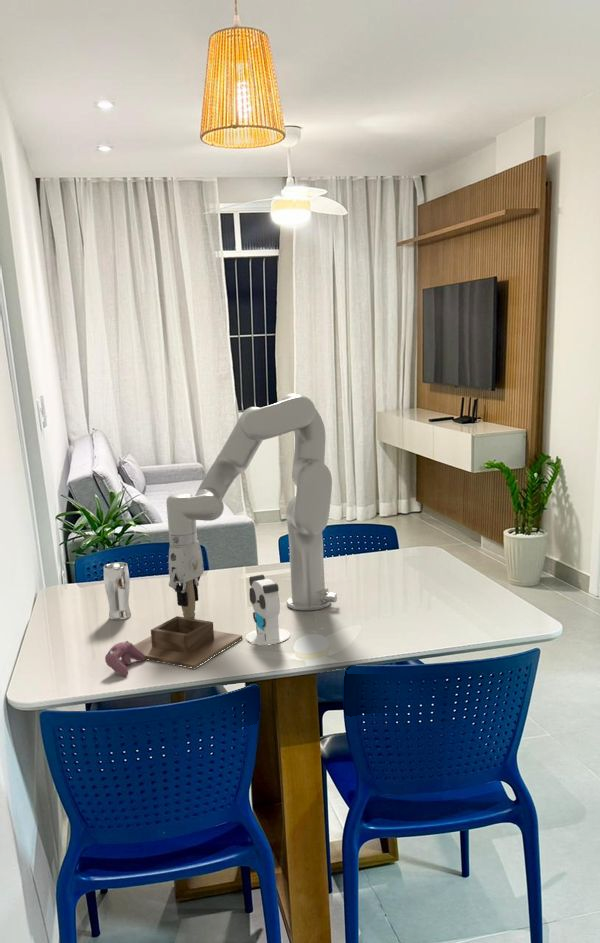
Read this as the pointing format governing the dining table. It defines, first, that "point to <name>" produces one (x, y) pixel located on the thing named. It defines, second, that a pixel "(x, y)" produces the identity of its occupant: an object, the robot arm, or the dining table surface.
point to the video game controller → (123, 657)
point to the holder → (185, 642)
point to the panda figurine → (265, 612)
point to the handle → (189, 599)
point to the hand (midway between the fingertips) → (188, 602)
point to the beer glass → (117, 590)
